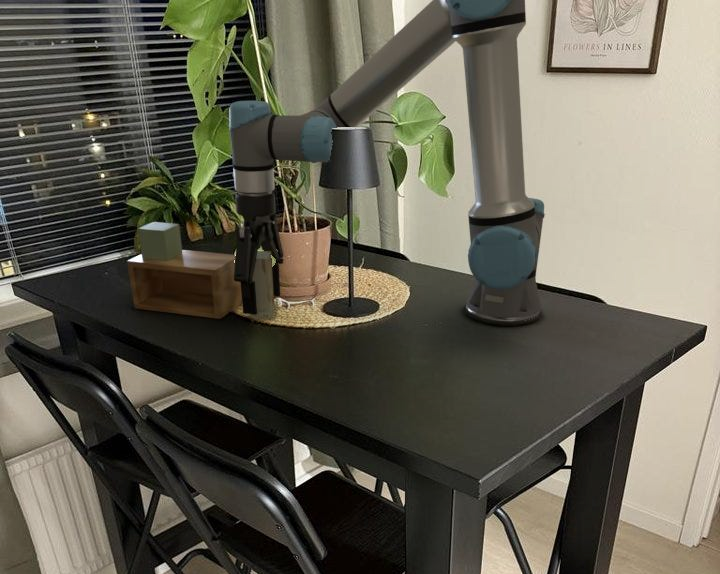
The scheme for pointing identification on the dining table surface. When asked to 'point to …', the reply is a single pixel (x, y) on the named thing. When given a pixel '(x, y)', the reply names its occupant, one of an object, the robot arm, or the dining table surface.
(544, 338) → the dining table surface
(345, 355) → the dining table surface
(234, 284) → the shelf
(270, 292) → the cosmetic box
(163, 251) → the sage box
